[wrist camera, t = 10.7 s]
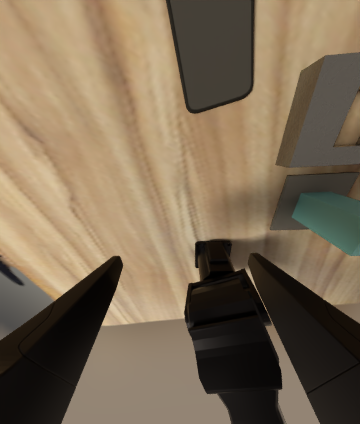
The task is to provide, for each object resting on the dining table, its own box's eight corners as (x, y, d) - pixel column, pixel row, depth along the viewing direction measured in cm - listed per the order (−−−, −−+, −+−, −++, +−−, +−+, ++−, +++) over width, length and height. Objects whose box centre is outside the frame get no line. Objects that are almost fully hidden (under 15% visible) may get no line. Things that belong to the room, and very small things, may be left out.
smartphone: (187, 116, 15) (131, -180, 8) (187, 117, 15) (136, -149, 9) (254, 94, 14) (259, -267, 7) (250, 97, 14) (251, -222, 8)
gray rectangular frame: (379, 159, 16) (410, 161, 14) (275, 164, 17) (289, 167, 15) (441, 59, 12) (498, 39, 10) (301, 71, 13) (325, 55, 11)
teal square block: (318, 216, 20) (392, 254, 13) (291, 217, 20) (350, 255, 13) (330, 191, 18) (425, 221, 11) (301, 193, 18) (375, 222, 11)
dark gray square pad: (325, 227, 21) (327, 228, 21) (269, 229, 22) (271, 230, 21) (356, 172, 17) (359, 172, 17) (287, 175, 18) (289, 176, 17)
